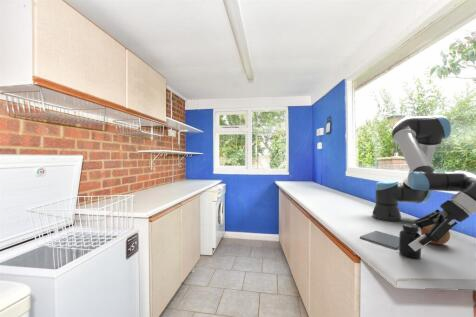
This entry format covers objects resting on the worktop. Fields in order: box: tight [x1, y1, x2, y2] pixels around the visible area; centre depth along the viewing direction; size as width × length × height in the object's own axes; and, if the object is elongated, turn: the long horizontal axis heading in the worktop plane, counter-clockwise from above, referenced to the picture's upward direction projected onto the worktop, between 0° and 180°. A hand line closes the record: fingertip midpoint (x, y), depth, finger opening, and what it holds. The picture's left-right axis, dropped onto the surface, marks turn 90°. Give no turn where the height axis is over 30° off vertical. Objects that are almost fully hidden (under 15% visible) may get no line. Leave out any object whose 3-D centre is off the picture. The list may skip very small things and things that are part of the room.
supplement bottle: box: [398, 223, 422, 260], centre depth 86 cm, size 7×7×12 cm
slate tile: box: [359, 230, 399, 250], centre depth 102 cm, size 15×15×1 cm
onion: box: [420, 224, 451, 245], centre depth 97 cm, size 10×10×10 cm
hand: (407, 241), depth 86 cm, fingers open, 13 cm apart
